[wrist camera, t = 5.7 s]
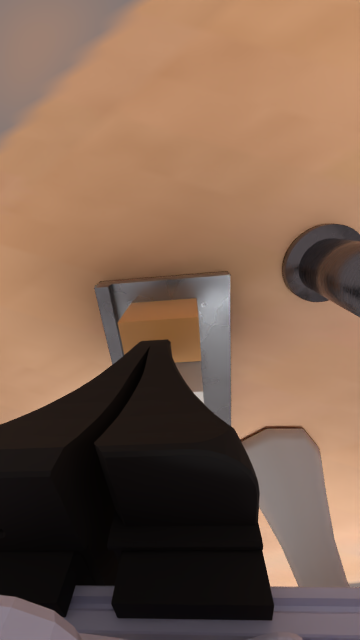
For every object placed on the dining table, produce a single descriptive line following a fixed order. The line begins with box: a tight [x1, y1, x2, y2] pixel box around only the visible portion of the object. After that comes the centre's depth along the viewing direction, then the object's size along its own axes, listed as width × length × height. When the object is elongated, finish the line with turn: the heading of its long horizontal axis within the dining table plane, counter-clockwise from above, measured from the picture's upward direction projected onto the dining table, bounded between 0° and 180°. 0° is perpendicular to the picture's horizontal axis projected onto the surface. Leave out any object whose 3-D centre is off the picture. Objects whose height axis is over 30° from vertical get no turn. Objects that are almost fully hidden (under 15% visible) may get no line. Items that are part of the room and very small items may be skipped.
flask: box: [242, 429, 350, 587], centre depth 16 cm, size 7×7×10 cm
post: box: [282, 224, 360, 317], centre depth 11 cm, size 4×4×6 cm
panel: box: [94, 271, 231, 426], centre depth 17 cm, size 8×14×2 cm, turn 5°
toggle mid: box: [175, 362, 204, 403], centre depth 15 cm, size 4×2×3 cm, turn 95°
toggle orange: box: [118, 298, 201, 363], centre depth 13 cm, size 4×2×3 cm, turn 95°
